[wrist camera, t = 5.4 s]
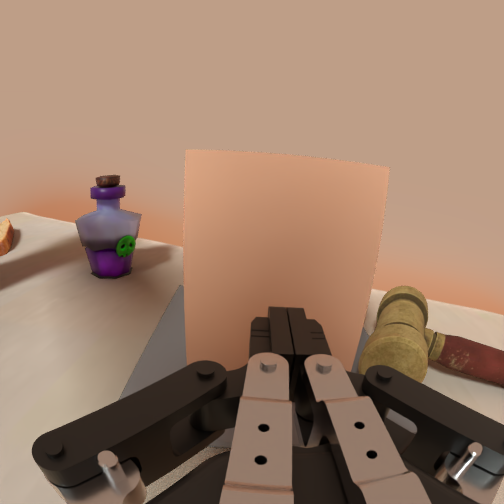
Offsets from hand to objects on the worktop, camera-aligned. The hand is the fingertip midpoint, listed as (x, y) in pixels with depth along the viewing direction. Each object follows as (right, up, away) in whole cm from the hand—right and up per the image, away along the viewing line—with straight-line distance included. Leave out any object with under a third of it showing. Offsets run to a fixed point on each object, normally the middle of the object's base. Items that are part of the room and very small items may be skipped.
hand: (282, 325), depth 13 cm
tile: (0, -5, +6) cm, 8 cm away
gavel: (+17, -7, +5) cm, 19 cm away
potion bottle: (-19, +1, +24) cm, 31 cm away
